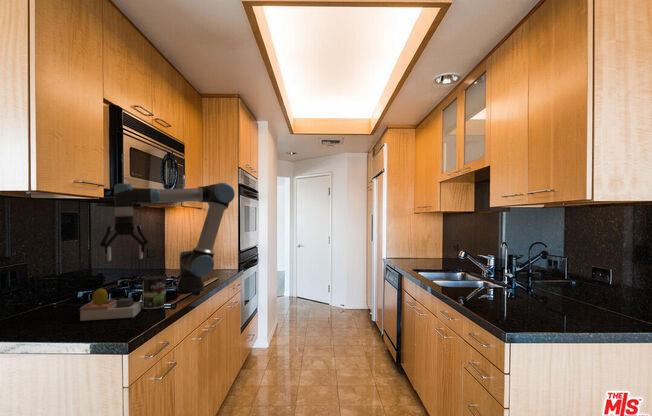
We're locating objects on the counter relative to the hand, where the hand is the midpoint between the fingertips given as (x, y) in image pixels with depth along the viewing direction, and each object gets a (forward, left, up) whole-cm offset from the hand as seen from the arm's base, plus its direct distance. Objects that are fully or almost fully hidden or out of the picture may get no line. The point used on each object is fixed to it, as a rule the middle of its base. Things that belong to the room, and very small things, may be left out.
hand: (125, 259), depth 153 cm
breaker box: (+1, +13, -23) cm, 26 cm away
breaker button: (-4, +13, -22) cm, 26 cm away
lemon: (+5, +13, -19) cm, 23 cm away
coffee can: (-13, +2, -23) cm, 27 cm away
